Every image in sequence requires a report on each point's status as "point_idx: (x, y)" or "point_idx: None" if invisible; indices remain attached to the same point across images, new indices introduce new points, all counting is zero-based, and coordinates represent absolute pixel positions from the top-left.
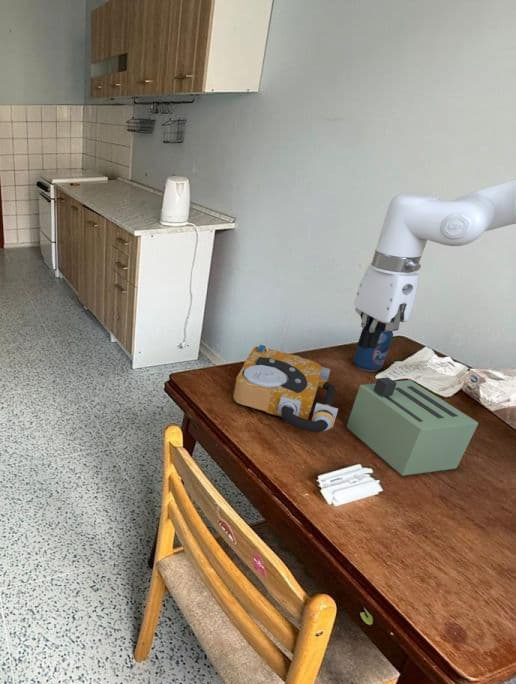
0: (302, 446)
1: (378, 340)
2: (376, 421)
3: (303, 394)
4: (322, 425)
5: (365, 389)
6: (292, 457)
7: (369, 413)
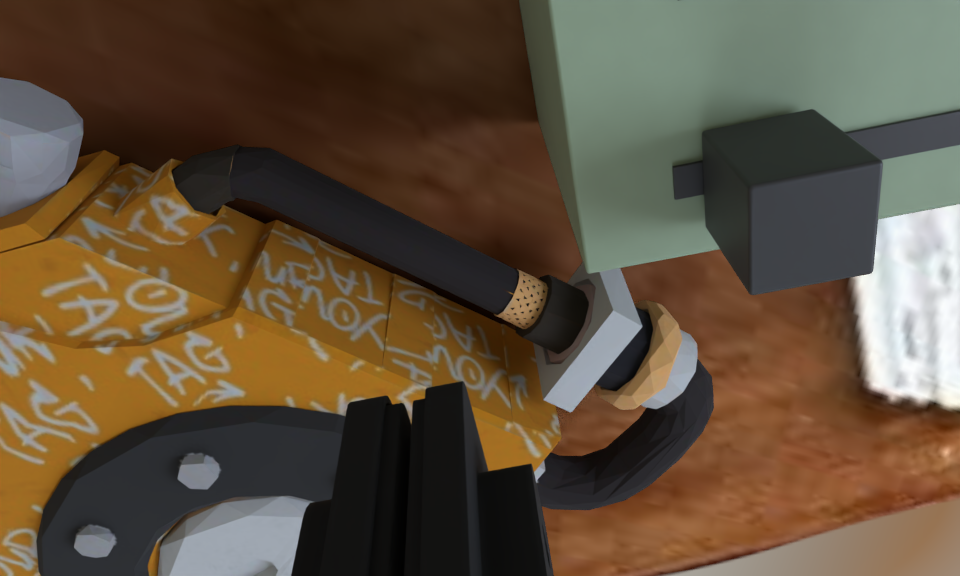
0: None
1: (461, 458)
2: None
3: None
4: (709, 398)
5: (655, 259)
6: (743, 436)
7: None
